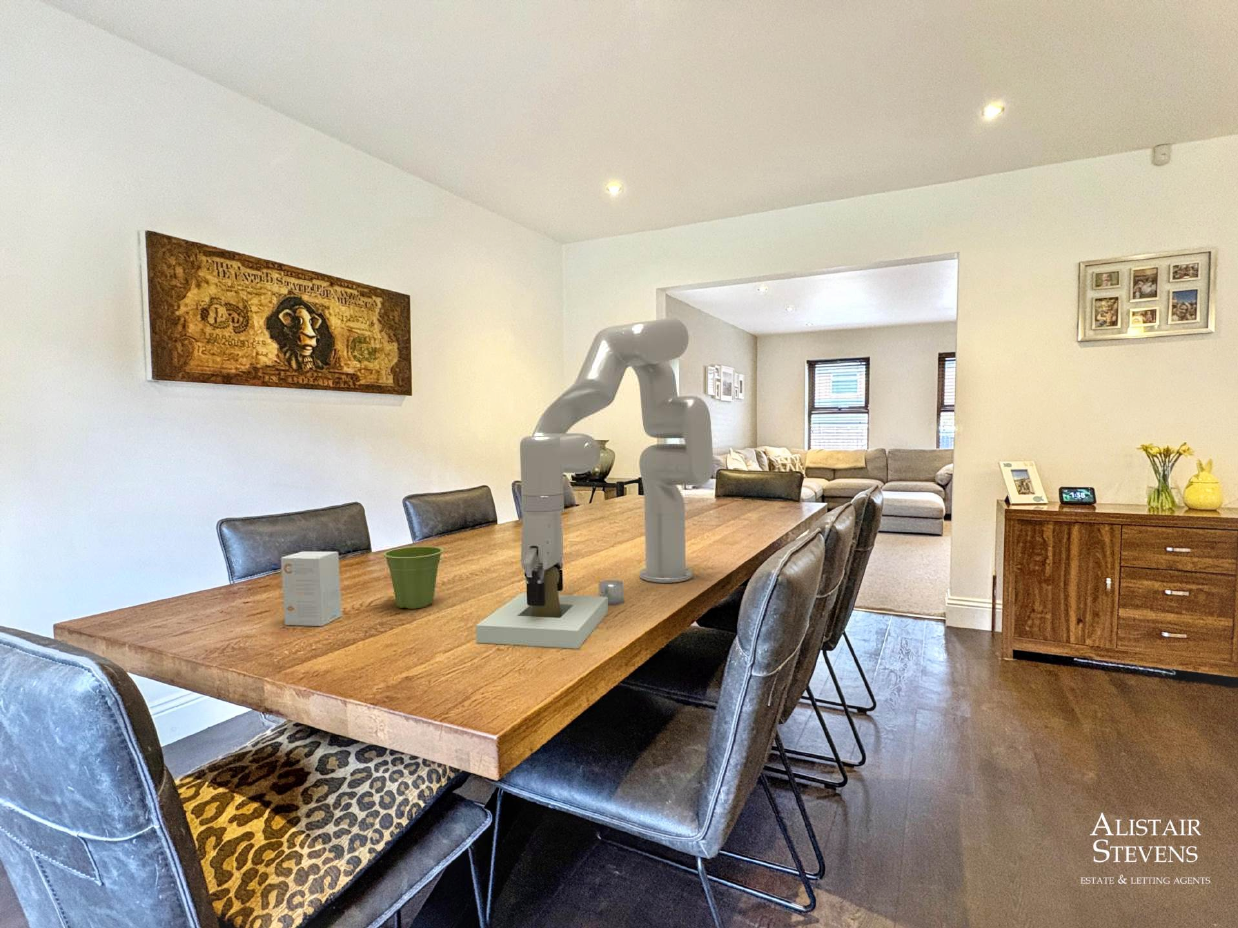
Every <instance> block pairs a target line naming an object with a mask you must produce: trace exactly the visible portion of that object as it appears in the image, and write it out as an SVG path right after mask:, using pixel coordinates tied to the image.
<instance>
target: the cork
mask: <svg viewBox="0 0 1238 928" xmlns="http://www.w3.org/2000/svg"><path fill="white" fill-rule="evenodd" d="M536 572H537V574H538V575H539V571H536ZM558 582H559V571H558V569H557V568H555V567H553V566H552V567H550V568H549V569H547V570H545V573H544V577H543V582H542V583H545V605H544V606H532V613H531V616H532V617H552V618H561V617H562V615H561V608H560V602H559V596H558V595H559V591H558V590H557V583H558Z"/></svg>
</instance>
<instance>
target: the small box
mask: <svg viewBox="0 0 1238 928" xmlns="http://www.w3.org/2000/svg"><path fill="white" fill-rule="evenodd" d="M280 566H281V585H282V586H281V587H282V601H283V602H282V603H283V604H282V605H283V617H284V618H283V619H284V625H285V626H305V627H306V626H309V627H310V626H311V627H313V626H315V627H323V626H326V625H327V624H330V623H331V622H334V621H335V620H337V619H339V618H341V617H343V610H342V609H343V608H342V592H341V591H342V589H341V576H340V559H339V552H338V551H299V552H297V553H293V554H288V555H285V556H282V557H281V558H280Z"/></svg>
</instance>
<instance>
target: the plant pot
mask: <svg viewBox="0 0 1238 928" xmlns="http://www.w3.org/2000/svg"><path fill="white" fill-rule="evenodd" d="M442 553H444V549H443V547H439V546H430V545H429V546H428V545H422V546H420V545H419V546H417V545H415V546H405V547H399V548H394V549H390V550H387V551H384V552H383V553H382V555H383V557H384V558H385V559H386V562H387V564H386V565H387V567H388V568H389V572H390V578H391V583H392V587H393V594H394V597H395V602H396V606H397V607H398V608H400V609H403V608H407V609H410V610H415V609H423V608H425V607H428V606H429V605H432V604H433V603H434V598H435V591H436V585H437V575H438V570H439V569H438V568H439V564H440V560H441V556H442V555H441V554H442Z"/></svg>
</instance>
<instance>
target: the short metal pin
mask: <svg viewBox="0 0 1238 928" xmlns="http://www.w3.org/2000/svg"><path fill="white" fill-rule="evenodd" d="M598 597H608V606H619V605H622V604H624V602H625V601H624V600H625V598H624V582H623V581H622V580H619V579H606V580H601V581H599V583H598ZM621 603H622V604H621Z"/></svg>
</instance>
